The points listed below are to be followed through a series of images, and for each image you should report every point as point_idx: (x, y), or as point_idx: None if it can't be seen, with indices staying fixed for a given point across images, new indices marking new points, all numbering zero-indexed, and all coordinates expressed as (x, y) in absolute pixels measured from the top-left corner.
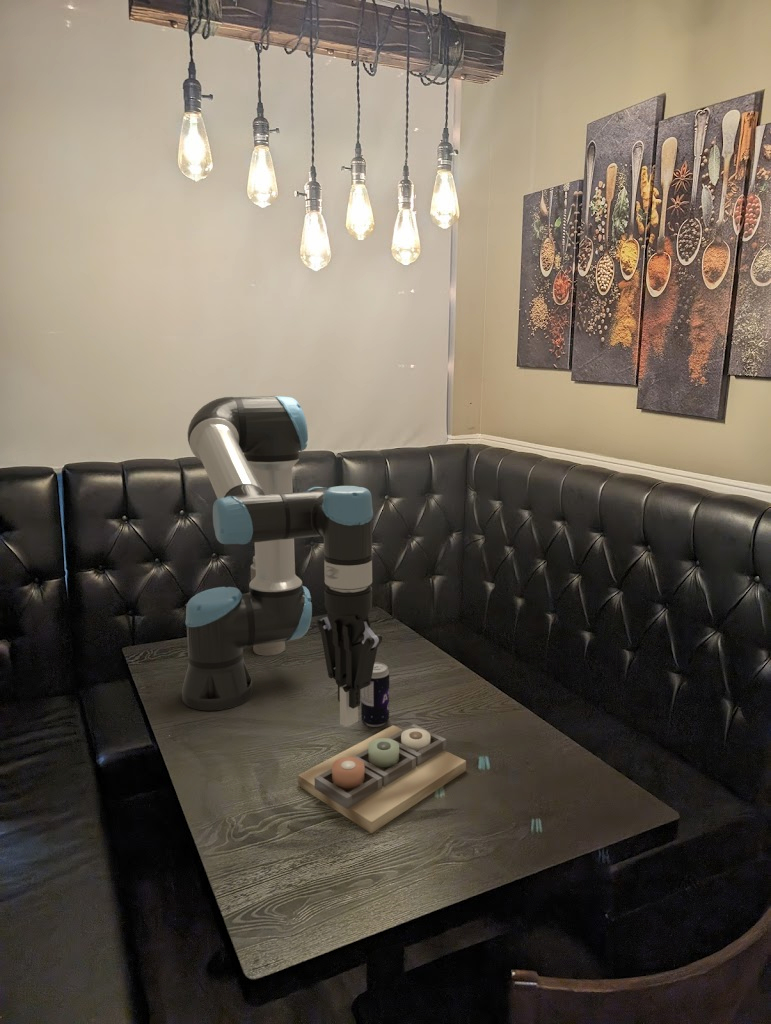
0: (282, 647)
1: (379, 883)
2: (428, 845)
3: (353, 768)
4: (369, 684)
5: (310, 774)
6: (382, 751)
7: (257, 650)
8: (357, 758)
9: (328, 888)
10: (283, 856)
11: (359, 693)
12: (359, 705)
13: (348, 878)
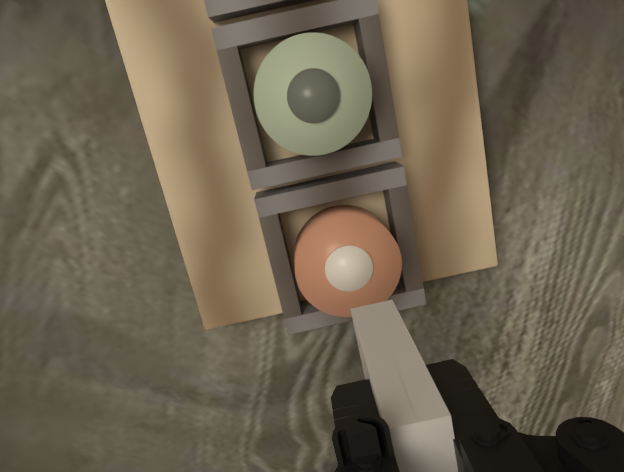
0: None
1: (617, 320)
2: (607, 163)
3: (371, 261)
4: (609, 428)
5: (220, 300)
6: (341, 121)
7: None
8: (329, 221)
9: (559, 405)
10: None
11: (490, 410)
12: (452, 359)
13: (564, 363)
